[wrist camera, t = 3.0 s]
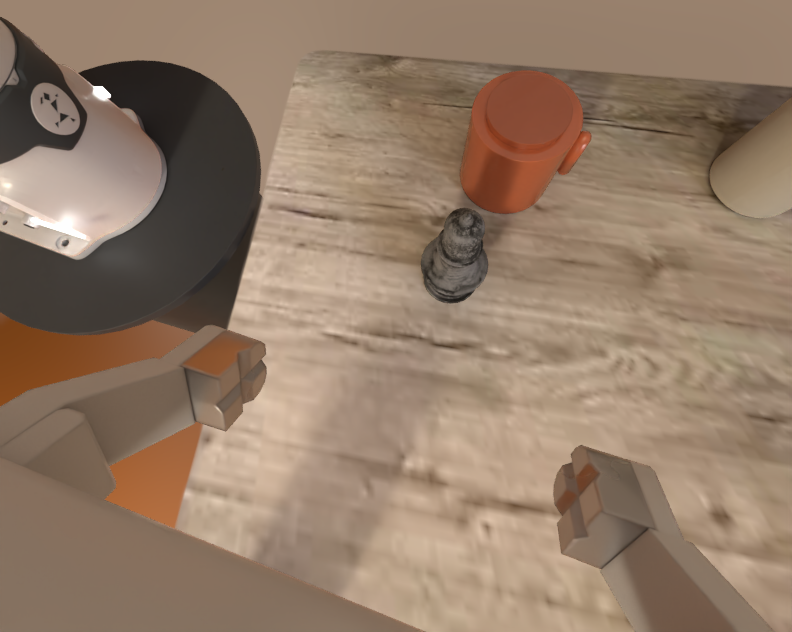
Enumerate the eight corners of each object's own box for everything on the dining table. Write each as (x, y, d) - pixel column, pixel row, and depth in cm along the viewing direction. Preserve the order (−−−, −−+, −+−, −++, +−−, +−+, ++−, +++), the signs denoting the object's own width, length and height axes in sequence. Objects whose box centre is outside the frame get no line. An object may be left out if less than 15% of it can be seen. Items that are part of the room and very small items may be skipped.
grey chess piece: (438, 316, 33) (451, 272, 22) (409, 266, 35) (406, 198, 23) (492, 288, 34) (533, 229, 22) (461, 239, 35) (484, 159, 23)
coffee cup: (454, 208, 36) (466, 150, 27) (465, 134, 38) (479, 59, 29) (559, 220, 35) (605, 164, 27) (564, 144, 37) (608, 69, 29)
